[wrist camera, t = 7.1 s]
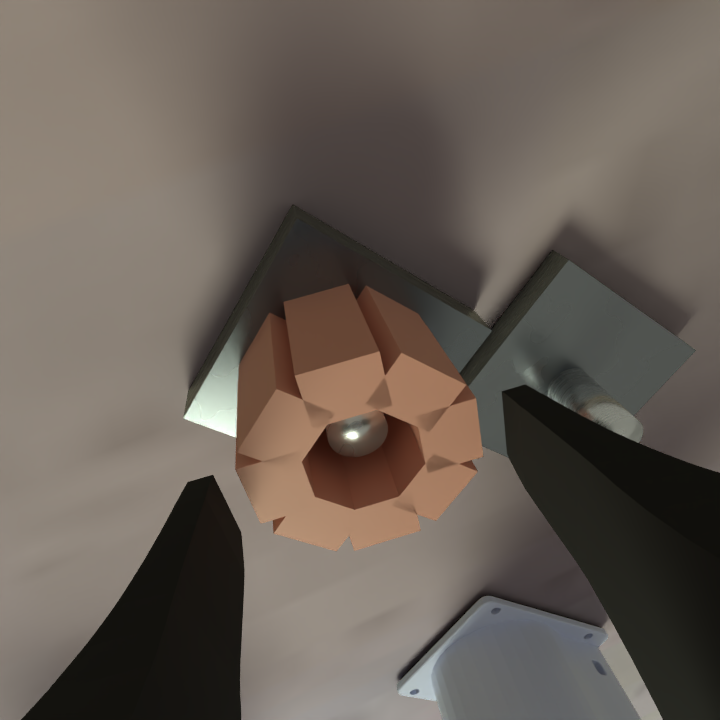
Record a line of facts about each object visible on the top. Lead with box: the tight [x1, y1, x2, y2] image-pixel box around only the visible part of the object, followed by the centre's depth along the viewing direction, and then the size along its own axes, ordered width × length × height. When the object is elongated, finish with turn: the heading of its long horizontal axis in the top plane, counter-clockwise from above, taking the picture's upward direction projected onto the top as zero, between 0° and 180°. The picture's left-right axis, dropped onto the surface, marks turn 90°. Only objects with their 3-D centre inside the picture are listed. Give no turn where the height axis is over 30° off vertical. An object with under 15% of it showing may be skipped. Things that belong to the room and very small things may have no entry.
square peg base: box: [184, 205, 492, 457], centre depth 15 cm, size 7×7×4 cm
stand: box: [459, 250, 696, 458], centre depth 18 cm, size 7×7×4 cm
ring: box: [235, 284, 483, 551], centre depth 14 cm, size 6×6×4 cm
